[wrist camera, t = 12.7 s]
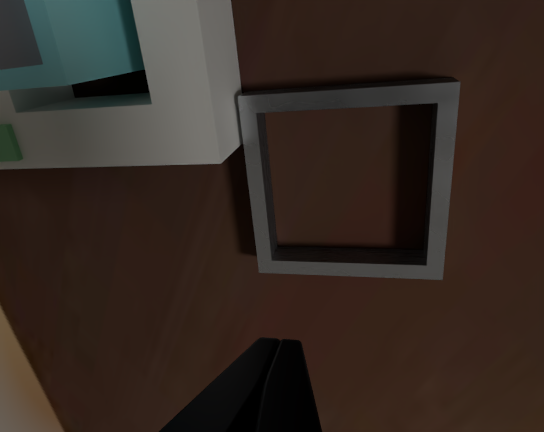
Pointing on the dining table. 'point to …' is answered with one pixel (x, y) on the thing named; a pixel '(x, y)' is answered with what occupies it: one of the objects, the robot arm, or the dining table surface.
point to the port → (140, 100)
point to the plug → (66, 42)
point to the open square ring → (353, 259)
